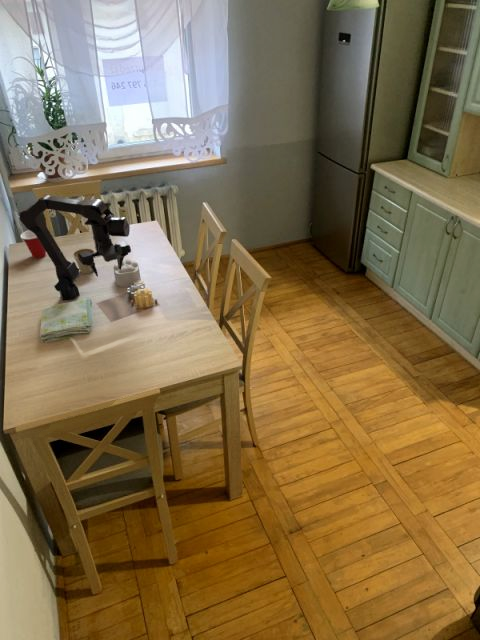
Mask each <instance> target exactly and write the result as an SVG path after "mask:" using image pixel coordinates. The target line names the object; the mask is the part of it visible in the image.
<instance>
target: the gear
mask: <svg viewBox="0 0 480 640" xmlns="http://www.w3.org/2000/svg"><path fill="white" fill-rule="evenodd" d="M138 289H144V287H143V286H140V285H137V286H134V285H130V287H128V288H126V293H128V297H129V298H132V299H135V297H134V292H135V291H137V290H138Z"/></svg>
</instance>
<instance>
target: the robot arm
mask: <svg viewBox="0 0 480 640" xmlns="http://www.w3.org/2000/svg"><path fill="white" fill-rule="evenodd" d="M46 210H52V211H53V210H54V211H59V212H64V213H69V214H70V213H71V214H77V215H79V216H81V217H83V218H84V219H87V220H86V221H85V222H84V225H85V226H87V225H88V226H91V232H92V239H93V241H94V248H95V249H94V250H95V252H94V253H90V252H89V251H85V252H81V253H79V254H78V259H79V261H80V262H81V263H82V264H83V265H87V266H90V267H91V268H92V270H93V273H94V274H95V276H96V277H99V273H98V270H97V268H96V263H95V258H99V257H102V258H103V259H104V261H105V262H107V263H108V262H111V261H117V262H118V267H119V269H120V270H121V267H122V262H123V260H125V257H126V256H128V255H129V254H130V253H132V248H131V246H130V244H128V243H127V241H125V240H123V241H119V242H116V243H115V244H114V243H113V241H112V238H111V237H121V238H122V237H123V238H124V237H127V238H128V237H129V236H130V229H131V228H130V224H129V221H128V220H127V218H126V217H124V216H123V217H114V216H115V213H113V212H112V211H111V210H110V209H109V208H108V207H107V205H106V203H105V202H104V201H103V199H97V198H95V199H91V198H90V199H86V200H80V199H79V200H78V199H70V198H65V197H59V196H54V195H53V196H52V195H48V194H44V195H43V196H41V197H40V198H38V200H37V201H36V202H35V203H34V204H30V205H29V206H27V207H26V208H25V209H23V210H22V211H21V212H20V213H19V215H18V216H19V220H20V222H21V223H22V225H23V226H24V227H25V228H26V229H27V231H28V230H30V231H32V232H33V233H34V234H35V235H36V236H37V238H38V240H39V241H40V243H41V244H42V246H43V248H44V249H45V251H46V255H48V257H49V259H50V260H51V262H52V264H53V266H54V267H55V274H56V278H57V279H58V282H56V283H55V285H54V287H53V288H54V289H55V290H56V292H59V295H60V297H59V299H62V301H64V302H65V301H68V302H69V301H73V300H74V299H76V298H77V297H79V296H80V291H79V288H78V285H76V282H77V280H78V278H80V273H81V272H80V269H79V267H78V265H77V263H76V261H72V262H70V261H69V260H67V257H66V256H65V255H64V253H63V252H62V249H60V247H59V245H58V244H57V242H56V240H55V238H54V237H53V235H52V233H51V232H50V230H49V228H48V226H47V218H46V215H45V214H44V212H45V211H46ZM103 216H104V217H103ZM110 236H111V237H110ZM93 258H94V260H93ZM93 261H94V262H93ZM117 262H116V263H117Z"/></svg>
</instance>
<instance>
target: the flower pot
mask: <svg viewBox="0 0 480 640" xmlns="http://www.w3.org/2000/svg"><path fill="white" fill-rule="evenodd" d="M85 251H89V252H90V253H94V252H96V250H95V249H92V248H88V247H87V248H80V249H79V248H78V249H77V250H74V252H73V253H72V254H71V255H72V257H73V258H74V260H75V263H76V265H77V268H78V269H80V270H79V273H81V274H88V273H89V274H90V273H92V272H93V273H94V271H93V270H92V268H91V267H90V266H87V265H83V264H82V263H81V262H80V261H79V259H78V254H79V253H81V252H85ZM93 260H94V261H93V262H94V263H95V258H93Z"/></svg>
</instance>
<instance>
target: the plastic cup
mask: <svg viewBox="0 0 480 640" xmlns="http://www.w3.org/2000/svg"><path fill="white" fill-rule="evenodd" d="M19 238H21V239H22V240H23V241H24V243H25V245H26V246H27V249H28V251H29V252H30V254H31V256H32V258H33V259H36V260H37V259H42V258H44V257H46V255H47V252H46V251H45V249H44V248H43V246H42V244H41V243H40V241H39V240H38V238H37V236H36V235H35V234H34V233H33V232H32V231H30V230H28V229H27V230H26V231H24V232H22V233H21V234H20V237H19Z"/></svg>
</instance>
